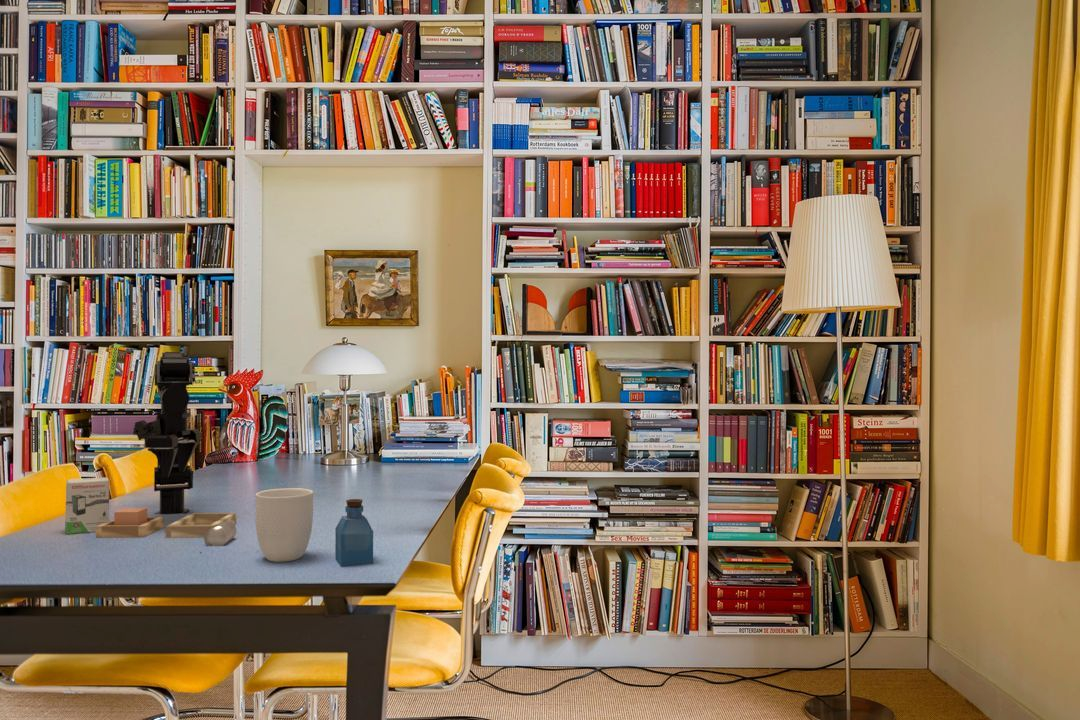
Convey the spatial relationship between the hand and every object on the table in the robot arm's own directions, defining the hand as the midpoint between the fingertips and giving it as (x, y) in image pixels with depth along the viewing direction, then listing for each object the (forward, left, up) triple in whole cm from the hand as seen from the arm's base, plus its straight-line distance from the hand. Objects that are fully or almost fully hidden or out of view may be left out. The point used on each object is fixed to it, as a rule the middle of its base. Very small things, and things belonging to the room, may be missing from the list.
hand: (173, 474), depth 188 cm
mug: (+32, +34, -12) cm, 48 cm away
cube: (+11, -5, -11) cm, 17 cm away
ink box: (+6, -17, -12) cm, 22 cm away
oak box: (+11, -5, -12) cm, 17 cm away
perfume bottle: (+36, +49, -12) cm, 62 cm away
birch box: (+9, +10, -12) cm, 18 cm away
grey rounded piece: (+21, +18, -12) cm, 30 cm away
